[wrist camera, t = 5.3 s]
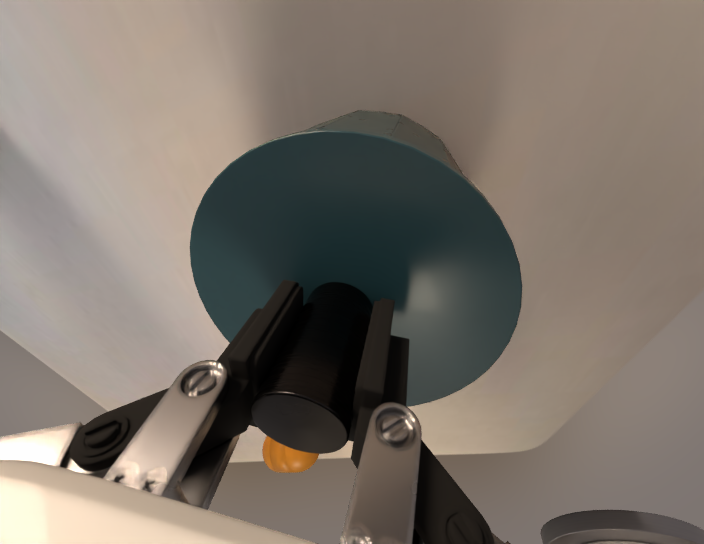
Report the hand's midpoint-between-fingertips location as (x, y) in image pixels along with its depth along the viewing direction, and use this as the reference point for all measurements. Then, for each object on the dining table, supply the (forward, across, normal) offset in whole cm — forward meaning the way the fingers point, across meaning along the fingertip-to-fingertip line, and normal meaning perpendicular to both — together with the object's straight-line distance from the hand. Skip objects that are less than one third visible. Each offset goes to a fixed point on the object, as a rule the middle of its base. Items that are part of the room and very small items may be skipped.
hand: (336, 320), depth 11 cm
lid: (+1, 0, 0) cm, 1 cm away
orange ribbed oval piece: (+11, +6, +31) cm, 33 cm away
